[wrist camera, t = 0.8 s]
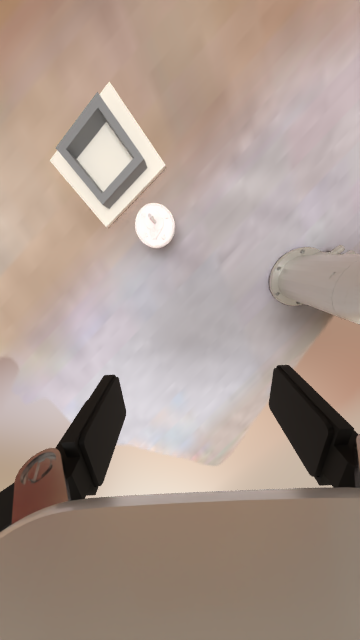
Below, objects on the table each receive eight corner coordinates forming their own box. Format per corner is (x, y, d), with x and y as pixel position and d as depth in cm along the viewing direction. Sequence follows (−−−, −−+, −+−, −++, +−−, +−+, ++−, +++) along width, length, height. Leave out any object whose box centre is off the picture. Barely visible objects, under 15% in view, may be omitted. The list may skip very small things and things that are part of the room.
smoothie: (178, 218, 35) (175, 194, 22) (175, 251, 37) (171, 248, 24) (147, 215, 35) (125, 189, 22) (146, 249, 37) (126, 243, 24)
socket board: (111, 87, 28) (100, 61, 25) (166, 167, 32) (163, 155, 28) (53, 163, 32) (36, 150, 28) (108, 227, 36) (99, 224, 32)
